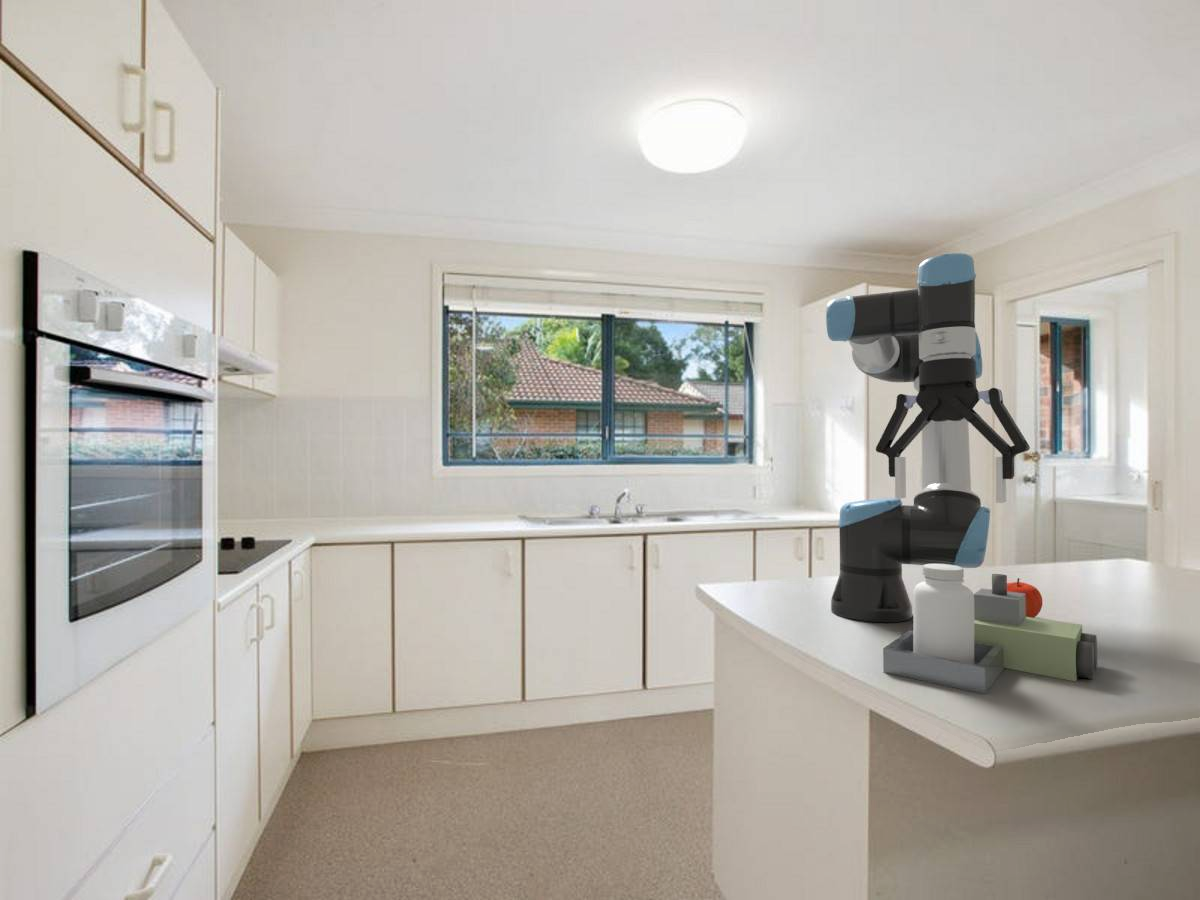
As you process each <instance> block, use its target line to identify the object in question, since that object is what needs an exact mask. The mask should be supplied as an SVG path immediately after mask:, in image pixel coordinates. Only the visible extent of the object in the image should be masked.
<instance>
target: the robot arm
mask: <svg viewBox="0 0 1200 900" xmlns="http://www.w3.org/2000/svg"><path fill="white" fill-rule="evenodd" d="M975 272H976V271H975V259H974V258H973V257H972V256H971V255H970V254H967V253H961V252H960V253H959V252H957V253H956V252H955V253H945V254H939V255H936V256H931V257H929V258H927V259H925V260H923V261H922V262H921V263H920V264H919V265H918V272H917V273H918V274H917V283H916V284H917V288H915V289H907V290H898V291H891V292H883V293H882V292H880V293H871V294H863V295H855V296H853V295H852V296H851V295H847V296H844V297H840V298H834V299H832V300H830V301H829V302H828V303H827V307H826V311H825V312H826V313H825V314H826V315H825V316H826V317H825V319H826V322H825V323H826V324H825V325H826V332H827V337H828V339H829V340H830V341H831V342H848V343H849V345H850V346H851V348H852V351H851V354H852V355H851V357H852V360H853V363H854V364H855V366H856V367H857V369H858V370H859V371H861V372H862V373H863V374H864V375H867V376H869V377H871V378H874V379H877V380H881V381H884V382H890V383H913V388H914V389H915V391H916V392H918V393H917V394H916V395H911V394H910V395H908V394H904V393H899V394H898V395H897V396H896V401H895V403H896V405H895V409H894V411H893V412H892V415H891V417H890V419H889V421H888V423H887V425H886V427H885V429H884V430H883V433H882V434H881V437H880V439H879V441H878V443H877V445H876V446H875V451H876V453H880V454H882V455H885V456H887V459H888V475H889V477H891V478H894V485H895V486H894V487H895V488H894V489H895V490H894V496H895V497H890V498H888V497H887V498H875V499H866V500H865V499H864V500H857V501H851V502H847V503H845V504H843V505H842V506H841V508H840V510H839V524H838V527H837V528H839V576H838V578H837V582H836V583H835V584H836V585H835V587H834V591H833V593H832V596H831V600H830V611H831V612H832V613H834V614H836V615H838V616H841V617H843V618H847V619H851V620H858V621H862V622H863V621H865V622H872V623H873V622H875V623H899V622H906V621H909V620H911V619H912V618H913V605H912V602H911V599H910V597H909V594H908V591H907V587H906V586H905V583H904V579H903V568H902V567H903V565H913V566H914V565H915V566H924V565H925V564H949V565H955V566H959V567H962V568H963V569H964V568H965V569H975V568H976V569H977V568H980V567H981V566H982V565H983V563H984V562H985V557H986V551H987V544H988V539H989V538H988V537H989V530H990V529H989V528H990V521H991V509H990V508H988V507H986V506H981V505H982V502H981V497H979V495H978V494H976V493H974V492H973V491H972V487H971V486H972V485H971V483H972V482H971V481H972V480H971V459H970V457H971V456H970V435H969V434H970V433H969V431H970V429H969V423H970V425H971V426H973V428H974V429H975V430H976V431H978V432H979V433H980V434H981V435H982V436H983V438H985V439H986V440H987V441H988V442H989V443H990V444H991V445H992V446H993V447H994V448H995V450H997V451H998V452H999V453H1000V454H1001V456H995V458H994V459H995V503H996V504H997V503H999V504H1002V503H1006V502H1007V480H1013V479H1014V477H1015V458H1016V456H1017V455H1018V454H1023V453H1026V452H1028V451H1029V450H1030V449H1031V447H1030V445H1029V443H1028V442H1027V440H1026V438H1025V436H1024V435H1023V433H1022V432H1021V430H1020V428H1019V427H1018V424H1017V423H1016V421H1015V420H1014V419H1013V416H1011V414H1010V412H1009V411H1008V409H1007V407H1006V405H1005V404H1004V398H1003V393H1002V390H1001V389H999V388H996V387H991V388H990V389H989V390H988V389H987V390H982V391H981V390H980V391H978V389H977V379H979V378H981V377H982V374H983V359H982V348H981V344H980V340H979V335H978V333H977V331H976V322H975V321H976V317H975V315H976V276H977V273H975ZM980 400H983V402H984V403H985V404H986V405H990V407H991V410H992V411H993V413H994V414H995V416H996V417H997V420H999V422H1000V424H1001V426H1002V428H1003V429H1004V430H1005V432H1006V434H1007V436H1008V437H1009V439H1010V440H1011V442H1012V443H1013V445H1012V446H1011V445H1010V444H1009V443H1008V442H1007V441H1005V439H1004V438H1003V437H1001V436H1000V435H999V434H998V433H997V432H996V431H995V429H994V428H993V427H991V426H990V425H989V424H988V423H987V422H986V421H985V420H984V419H983V418H982V417H981V415H979V413H977V412H976V411H975V409H974V408H975V406H976V405H977V404H978V403H979V402H980ZM915 404H917V406H919V408H920V410H921V411H920V412H919V413H918V415H917V416H916V417H915V419H914V421H913V422H912V423H911V424H910V425H909V426H908V427H907V428H906V430H904V432H903V433H902V434H901V435H900V436H899V438H898V439H897V440H896V441H895V442H894V440H895V439H896V436H897V435H898V432H899V430H900V428H901V426H902V425H903V423H904V421H905V419H906V417H907V414H908V412H909V409H912V408H913V406H914V405H915ZM920 433H921V491H919V492H917V494H916V495H914V498H913V505H906V504H905V505H903V501H902V500H901V499H906V498H907V486H906V485H907V483H906V482H907V477H906V476H907V474H906V469H907V467H906V466H907V464H906V462H907V461H906V459H907V458H906V456H901V455H902V453H903V452H904V451H905V450H906V449H907V447H908V446H910V444H911V443H912V442H913V440H914V439H916V437H918V435H919V434H920ZM893 442H894V444H893ZM892 444H893V445H892Z"/></svg>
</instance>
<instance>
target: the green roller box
mask: <svg viewBox="0 0 1200 900" xmlns="http://www.w3.org/2000/svg"><path fill="white" fill-rule="evenodd" d="M1007 583H1008V575H1006V574H1003V573H992V574H991V589H989V588H981V589H979V590H978V591H976V592H974V593H973V595H974V641H976V642H982V643H988V644H994V645H1000V646H1003V656H1004V668H1005V669H1009V670H1015V671H1019V672H1023V673H1024V672H1025V673H1030V674H1035V675H1040V676H1045V677H1051V678H1056V679H1060V680H1067V681H1072V682H1077V680H1078V677H1079V678H1084V679H1089V680H1094V674H1095V670H1097V665H1098V637H1097V635H1096V634H1092V633H1086V632H1085V633H1084V632H1083V624H1080V623H1073V622H1065V621H1059V620H1052V619H1044V618H1037V617H1034V618H1031V617H1026V606H1025V593H1017V592H1008V591H1007Z"/></svg>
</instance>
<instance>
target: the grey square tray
mask: <svg viewBox="0 0 1200 900" xmlns="http://www.w3.org/2000/svg"><path fill="white" fill-rule="evenodd" d="M882 654H883V655H882V657H883V658H882V662H883V664H882V665H883V667H882V669H883V671H882V672H883V673H887V674H891V675H895V676H899V677H905V678H910V679H914V680H918V681H923V682H927V683H931V684H935V685H941V686H946V687H950V688H955V689H960V690H965V691H969V692H973V693H978V694H982V695H986V694H987V692H988V691H989V690H990V689H991V687H992V685H994V683H995V682H996V680H997V679H998V678H999V676H1000V675H1001V674H1002V672H1003V671H1004V670H1005V669H1004V656H1003V646H1000V645H994V644H988V643H982V642H976V641H974V664H973V663H968V662H962V661H957V660H952V659H947V658H941V657H936V656H931V655H926V654H921V653H915V652H913V630H912V629H909V630H908V631H907V632H905V633H903V634H901V636H899V637H898V638H896V639H895V640H893V641H892V642H890V643H888V644H887V645H885V646H884V647H883V649H882Z"/></svg>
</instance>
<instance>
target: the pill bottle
mask: <svg viewBox="0 0 1200 900" xmlns="http://www.w3.org/2000/svg"><path fill="white" fill-rule="evenodd" d="M964 573H965V572H964V568H962V567H959V566H955V565H949V564H925V565H922V575H923V577H922V578H923V579H924V581H920V582H919V583H917V584H916V585H915V586H914V589H913V602H912V603H913V605H912V618H913V619H912V620H913V622H912V623H913V625H912V626H913V628H912V629H913V630H912V631H913V652H915V653H921V654H926V655H931V656H936V657H941V658H947V659H952V660H957V661H962V662H968V663H973V664H974V592H973V591H972V589H970V588H969V587H968V586H966V585H964V584H962V583H964V582H965V579H964Z"/></svg>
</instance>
